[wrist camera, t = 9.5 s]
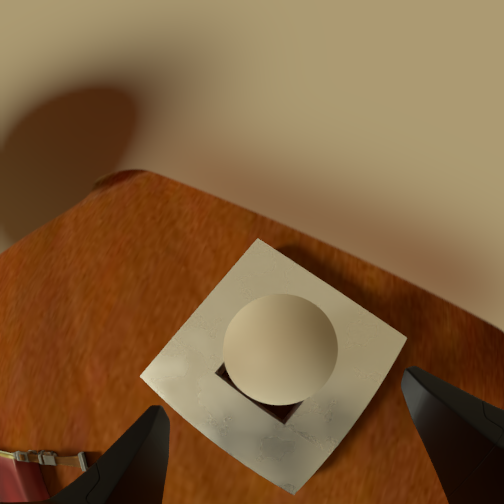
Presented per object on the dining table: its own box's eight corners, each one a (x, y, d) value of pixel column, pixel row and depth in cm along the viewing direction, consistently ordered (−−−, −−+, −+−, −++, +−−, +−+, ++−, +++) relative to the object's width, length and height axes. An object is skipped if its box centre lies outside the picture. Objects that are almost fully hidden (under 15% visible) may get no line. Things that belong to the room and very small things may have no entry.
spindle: (310, 378, 21) (357, 368, 9) (264, 402, 20) (255, 424, 8) (286, 335, 22) (302, 275, 11) (241, 358, 22) (204, 324, 10)
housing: (392, 344, 21) (407, 337, 18) (291, 482, 17) (293, 494, 14) (259, 254, 26) (257, 238, 23) (155, 378, 21) (139, 376, 19)
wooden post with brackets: (24, 443, 17) (7, 447, 13) (90, 447, 20) (80, 454, 16) (28, 459, 16) (12, 464, 12) (94, 463, 19) (85, 472, 16)
